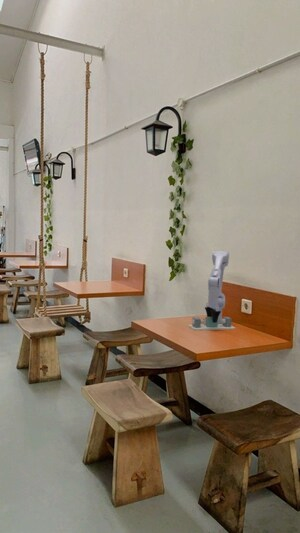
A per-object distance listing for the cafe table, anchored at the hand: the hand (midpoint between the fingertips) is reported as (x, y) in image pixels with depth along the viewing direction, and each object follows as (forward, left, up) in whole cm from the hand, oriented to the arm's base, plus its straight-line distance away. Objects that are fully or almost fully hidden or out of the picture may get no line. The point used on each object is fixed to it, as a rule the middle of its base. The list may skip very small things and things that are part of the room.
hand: (212, 321), depth 240 cm
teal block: (0, 0, -3) cm, 3 cm away
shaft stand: (0, 0, -4) cm, 4 cm away
